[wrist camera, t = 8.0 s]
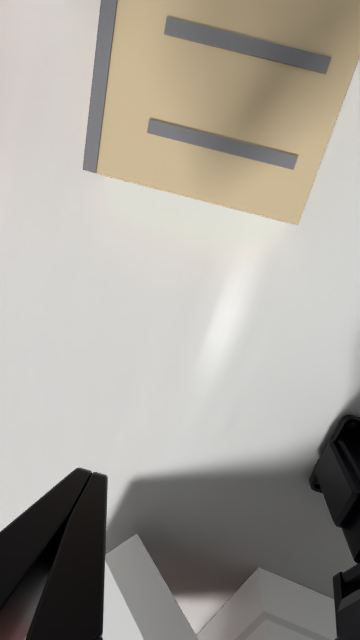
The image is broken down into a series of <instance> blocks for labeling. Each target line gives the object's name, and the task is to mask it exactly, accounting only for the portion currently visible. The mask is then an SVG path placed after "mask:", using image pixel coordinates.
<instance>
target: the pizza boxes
mask: <svg viewBox="0 0 360 640" xmlns="http://www.w3.org/2000/svg"><path fill="white" fill-rule="evenodd" d="M102 638H103V640H335V638H337V631H336V617H335V603H334V599H332V598H329V597H327V596H325V595H322V594H320V593H318V592H315V591H313V590H311V589H309V588H306V587H304V586H302V585H299V584H297V583H295V582H292V581H290V580H288V579H285V578H283V577H281V576H278V575H276V574H274V573H271V572H269V571H267V570H264V569H262V568H260V567H258V568H257V570H256V571H255V572H254V573H253V574H252V575H251V576H250V577H249V578H248V579H247V581H246V582H245V583H244V584H243V585H242V586H241V587H240V588H239V589H238V590H237V592H236V593H235V594H234V595H233V596H232V597H231V598H230V599H229V600H228V601H227V603H226V604H225V605H224V606H223V607H222V608H221V609H220V610H219V611H218V612H217V614H216V615H215V616H214V617H213V618H212V619H211V620H210V621H209V622H208V623H207V625H206V626H205V627H204V628H203V629H202V630H201V631H200V632H199V633H198V634H197V636H196V634H195V633H194V631H193V629H192V627H191V626H190V624H189V622H188V621H187V619H186V617H185V615H184V614H183V612H182V610H181V609H180V607H179V605H178V603H177V602H176V600H175V598H174V596H173V595H172V593H171V591H170V590H169V588H168V586H167V584H166V583H165V581H164V579H163V577H162V576H161V574H160V572H159V571H158V569H157V567H156V565H155V564H154V562H153V560H152V558H151V557H150V555H149V553H148V552H147V550H146V548H145V546H144V545H143V543H142V541H141V539H140V538H139V536H138V534H135V535H134V536H132V537H131V538H129V539H128V540H126V541H125V542H123V543H122V544H120V545H119V546H117V547H116V548H114V549H113V550H111V551H110V552H108V553H107V554H105V581H104V613H103V634H102Z"/></svg>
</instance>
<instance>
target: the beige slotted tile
mask: <svg viewBox="0 0 360 640" xmlns="http://www.w3.org/2000/svg"><path fill="white" fill-rule="evenodd" d="M359 57H360V0H101V6H100V15H99V24H98V33H97V43H96V52H95V61H94V70H93V79H92V89H91V98H90V107H89V116H88V126H87V135H86V144H85V153H84V163H83V170H86V171H89V172H93V173H96V174H100V175H104V176H107V177H111V178H115V179H119V180H123V181H127V182H131V183H135V184H138V185H142V186H146V187H150V188H154V189H158V190H162V191H166V192H170V193H173V194H177V195H181V196H185V197H189V198H193V199H197V200H201V201H205V202H208V203H212V204H216V205H220V206H224V207H228V208H232V209H236V210H240V211H243V212H247V213H251V214H255V215H259V216H263V217H267V218H271V219H275V220H278V221H282V222H287V223H291V224H296V225H298V224H299V221H300V218H301V215H302V213H303V210H304V207H305V204H306V202H307V199H308V196H309V194H310V191H311V188H312V185H313V183H314V180H315V177H316V174H317V172H318V169H319V166H320V164H321V161H322V158H323V155H324V153H325V150H326V147H327V144H328V142H329V139H330V136H331V134H332V131H333V128H334V125H335V123H336V120H337V117H338V114H339V112H340V109H341V106H342V104H343V101H344V98H345V95H346V93H347V90H348V87H349V84H350V82H351V79H352V76H353V73H354V71H355V68H356V65H357V63H358V60H359Z"/></svg>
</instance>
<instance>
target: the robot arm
mask: <svg viewBox="0 0 360 640" xmlns="http://www.w3.org/2000/svg"><path fill="white" fill-rule="evenodd" d="M351 422H353V423H352V424H350V425H348V424H349V423H351ZM309 483H310V486H311V489H312V490H314V491H317V492H320V493H323V495H324V497H325V500H326V503H327V506H328V508H329V511H330V514H331V516H332V519H333V521H334V523H335V525H336V526H337V527H341V528H342V530H343V533H344V536H345V538H346V541H347V543H348V546H349V549H350V551H351V554H352V556H353V559H354V561H355V562H356V563H358V564H356V565H355V566H353V567H352V568H350V569H348V570H347V571H345V572H344V573H343V572H340V573H338V574H336V575H335V576H333V588H334V603H335V617H336V631H337V638H335V640H360V417H357V416H353V415H348V416H345V417H344V418H343V419H342V420H341V422H340V424H339V426H338V428H337V429H336V431H335V433H334V435H333V437H332V439H331V441H330V442H328V443H327V445H326V447H325V449H324V451H323V453H322V455H321V456H320V458H319V460H318V462H317V464H316V466H315V468H314V472H313V474H312V476H311V478H310V479H309ZM317 483H319V484H317ZM107 484H108V477H107V475H104V474H101V473H97V472H93V473H92V472H91V471H90V470H87V469H83V468H76V469H75V470H74V471H72V472H71V473H70V474H69V475H68V476H66V477H65V478H64V479H63V480H62V481H60V482H59V483H58V484H57V485H56V486H54V487H53V488H52V489H51V490H50V491H49V492H47V493H46V494H45V495H44V496H43V497H41V498H40V499H39V500H38V501H37V502H35V503H34V504H33V505H32V506H31V507H29V508H28V509H27V510H26V511H25V512H23V513H22V514H21V515H20V516H19V517H17V518H16V519H15V520H14V521H13V522H11V523H10V524H9V525H8V526H7V527H5V528H4V529H3V530H2V531H1V532H0V640H103V638H102V634H103V613H104V581H105V549H106V517H107ZM25 638H26V639H25Z"/></svg>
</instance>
